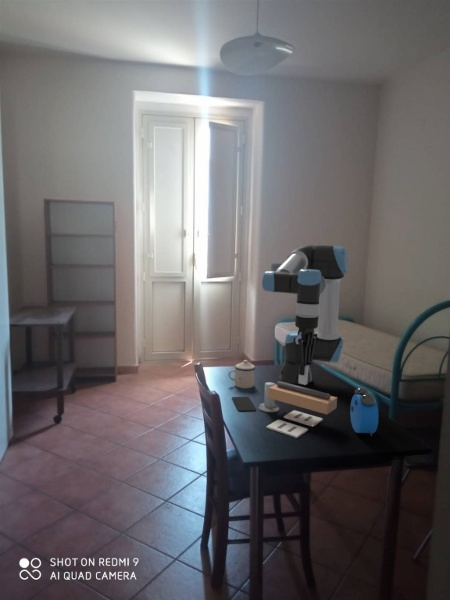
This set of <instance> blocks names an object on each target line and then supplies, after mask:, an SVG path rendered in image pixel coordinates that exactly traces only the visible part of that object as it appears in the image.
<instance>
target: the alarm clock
mask: <svg viewBox="0 0 450 600" xmlns="http://www.w3.org/2000/svg"><path fill="white" fill-rule="evenodd" d="M349 413H350V422H351V426H352V429H353V431H354V432H355V433H357V434H370V437H372V436H373V434H374V433H375V432H376V431H377V430H378V425H379V408H378V403H377V400H376V397H375V396H374V395H373V394H371V393H370V391H369V390H368V389H367V388H366V387H362V386H361V387H358V388H356V389H355V391H354V395H353V396H352V398H351V401H350V411H349Z"/></svg>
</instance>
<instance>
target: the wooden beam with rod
mask: <svg viewBox="0 0 450 600" xmlns="http://www.w3.org/2000/svg"><path fill="white" fill-rule="evenodd" d="M263 396H264V397H263V403H264V406H265V407H267V408H272V407H274V404H275V401H278V402H281V403H286V404H289V405H293V406H295V407H298V408H303V409H307V410H309V411H313V412H317V413H320V414H322V415H328V414H331V412H333V411H334V410H336V409H337V406H338V405H337V404H338V397H337V396H333V395H331V394H330V393H327V392H322V391H319V390H315V389H311V388H307V387H303V386H300V385H297V384H291V383H286V382H284V381H282V380H279V381H278V380H277V382H276V383H275V382H265V383H264V395H263Z"/></svg>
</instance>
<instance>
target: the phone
mask: <svg viewBox="0 0 450 600" xmlns="http://www.w3.org/2000/svg"><path fill="white" fill-rule="evenodd" d="M231 401H232V403H233V404H234V406H235V408H236V410H237V411H238V413H239V412H240V413H241V412H243V413H246V412H247V413H249V412H256V411H257V408H256V406H255V405H254V403H253V401H252V399H250V397H249V396H233V397H231Z"/></svg>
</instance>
